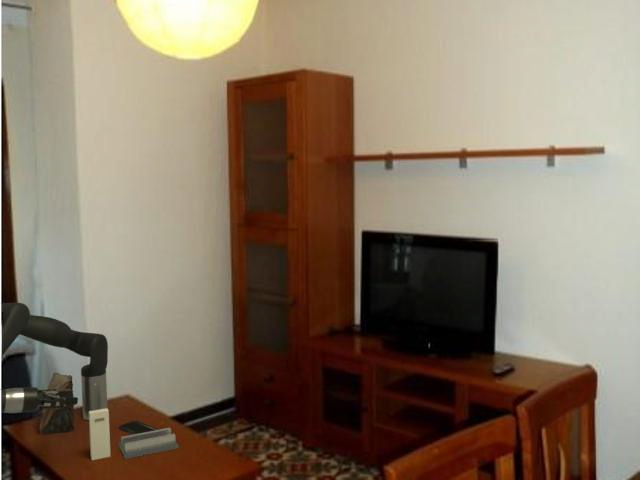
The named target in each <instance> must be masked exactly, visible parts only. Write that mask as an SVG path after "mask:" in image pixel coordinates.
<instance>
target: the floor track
mask: <svg viewBox="0 0 640 480" xmlns="http://www.w3.org/2000/svg"><path fill="white" fill-rule="evenodd" d="M179 446H180V445H179V443H177V441H176V434H175V433H172V429H171V427H165V428H161V429H158V430H155V431H150V432H144V433H139V434H134V435H132V434H130V435H125V436H121V437H120V442H119V443H118V447H119V450H120V451H121V453H122V455H123V458H124V459H125V460H130V459H133V458H134V457H135V458H139V457H143V455H144V456H148V454H149V455H152V454H153V453H154V454H157V453H162V452H167V451H172V450H177V449H179ZM138 456H139V457H138ZM135 458H134V459H135Z"/></svg>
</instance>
